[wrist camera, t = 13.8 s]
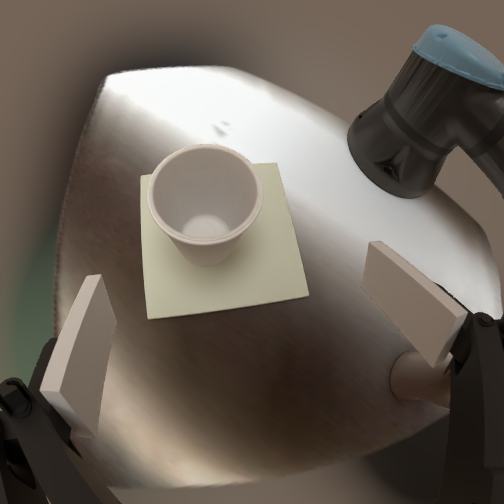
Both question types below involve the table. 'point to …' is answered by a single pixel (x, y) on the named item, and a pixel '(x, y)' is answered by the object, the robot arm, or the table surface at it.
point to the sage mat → (226, 262)
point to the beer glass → (421, 379)
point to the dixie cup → (205, 200)
